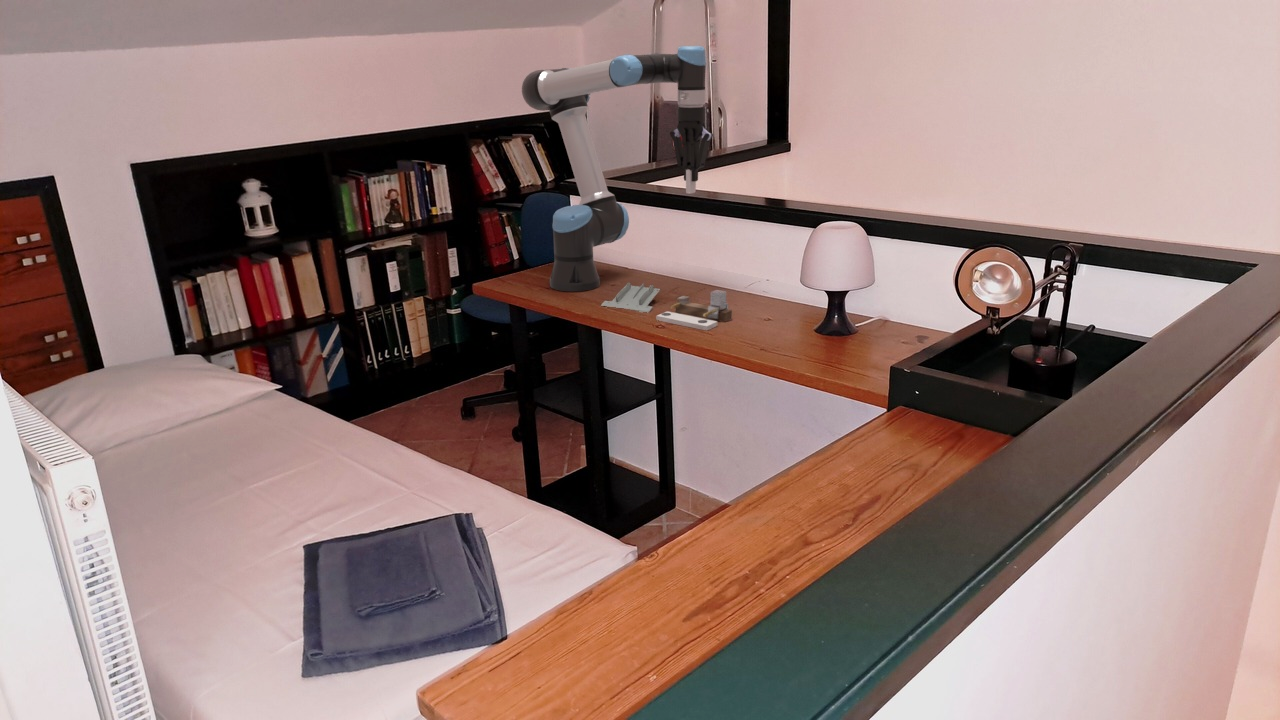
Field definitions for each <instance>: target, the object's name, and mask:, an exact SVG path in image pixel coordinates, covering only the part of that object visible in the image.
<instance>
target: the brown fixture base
mask: <svg viewBox="0 0 1280 720" xmlns="http://www.w3.org/2000/svg"><path fill="white" fill-rule="evenodd" d="M669 306H670V307H669V309H672V310H673V309H674V308H675V313H678V314H683V315H688V316H693V317H698V318H703V319H708V320H713V321H717V322H724V323H726V322H728V321H731V320H732V314H733V309H729V308H728V309H723V310H720V311H719V319H715V318H710V317H708V316H706V317H704V316H703V314H705V313H707V312H708V306H709V305H706V304H700V303H697V302H696V303H695V302H690V296H687V295H682V296H680V297H677V298H676V302H675V303H674V304H672V305H669Z"/></svg>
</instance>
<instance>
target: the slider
mask: <svg viewBox="0 0 1280 720" xmlns="http://www.w3.org/2000/svg"><path fill="white" fill-rule="evenodd" d="M707 306H708V312H707V313H705V314H703V316H704V317H706V316H708V317H710V318H715V319H719V311H720V310H723V309H728V310H729V303H727V291H726V290H721V289H715V290H712V291H710V305H707Z"/></svg>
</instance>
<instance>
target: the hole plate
mask: <svg viewBox="0 0 1280 720" xmlns="http://www.w3.org/2000/svg"><path fill="white" fill-rule="evenodd" d="M655 317H656V318H655V319H656V320H655V321H658V320H659V321H660V322H664V323H668V324H671V325H673V324H674V325H678V326H683V327H687V328H692V329H697V330H703V331H709V330H711V329H714V328H716V327H718V320H713V319H708V318H703V317H698V316H693V315H688V314H683V313H678V312H673V311H665V312H661V313H660V314H657V315H656V316H655Z"/></svg>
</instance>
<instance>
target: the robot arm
mask: <svg viewBox="0 0 1280 720" xmlns="http://www.w3.org/2000/svg"><path fill="white" fill-rule="evenodd" d="M706 61H707V60H706V50H705V48H704V46H700V45H695V46H694V45H692V46H690V45H687V46H686V45H685V46H679V47H678V48H677V52H676V53H672V54H671V53H659V52H657V53H656V52H655V53H647V54H637V55H636V54H634V55H632V54H623V55H619V56H617V57H615V58H611V59H608V60H604V61H600V62H595V63H591V64H590V63H589V64H586V65H581V66H576V67H572V68H569V67H568V68H566V67H562V68H556V69H538V70H534V71H532V72H530V73H529V74H527V75H526V76H525V78H524V79H523V81H522V84H521V95H522V97H523V100H524V102H525V103H526V104H527V105H528V106H529V107H531V108H532V109H534V110H537V111H540V112H541V111H542V112H543V111H549V113H550V117H551V120H552V121H554V122H556V123H557V124H558V127H559V130H560V132H561V133H560V134H561V137H562V139H563V143H564V146H565V149H566V153H567V156H568V159H569V163H570V165H571V170H572V172H573V173H572V174H573V176H574V179H575V183H576V187H577V189H578V193H579V195H580V198H581V199H580V201H579V203H578V204H574V205H567V206H564V207H561V208H559V209H557V210H556V211H555V212H554V213H553V215H552V225H551V227H552V234H553V253H554V256H553V257H554V263H553V266H552V269H551V274H550V276H549V287H550V288H551V289H552V290H556V291H561V292H583V291H584V292H586V291H589V290H591V291H592V290H594V289H596V288H598V287H599V286H600V284H601V282H600V281H601V280H600V279H601V278H600V275H599V274H598V271H597V266H596V264H595V261H594V247H598V246H602V245H606V244H611V243H614V242H616V241H618V240H620V239H622V238H623V237H624V236H625V235H626V233H627V231H628V229H629V225H630V217H629V214H628V213H629V212H628V211H627V208H626V207H625V206H623V204H622V203H619V202H617V199H616V196H615V194H614V193H612V192H610V191H609V190H608V186H607V184H606V179H605V177H604V173H603V171H602V167H601V164H600V163H601V162H600V160H599V157H598V154H597V150H596V147H595V143H594V140H593V136H592V133H591V130H590V127H589V122H588V120H587V116H586V114H587V112H588V110H589V106H588V103H589V101H590V98H591V97H590V95H591V94H593V93H599V92H603V91H604V92H605V91H608V90H609V91H610V90H613V89H618V88H619V89H620V88H625V87H630V86H637V85H646V84H659V83H668V84H669V83H673V84H675V83H676V84H677V105H678V107H677V121H678V123H677V127H676V129H674V130H673V131H670V132H669V134H670V137H671V140H672V141H673V142H672V143H673V148H674V153H675V158H676V164H677V166H678V167H680V168H682V169H683V180H684V181H685V194H689V195H690V194H695V193H696V191H697V189H696V188H697V187H696V186H697V185H696V184H697V182H698V180H699V169H701V168H705V165H706V160H707V155H708V151H709V146H710V142H711V140H712V139H713V136H714V134H713V133H712V132H709V131H708V130H706V128H707V127H706V126H705V120H706V108H705V106H704V105H706V72H707V71H706V69H707V62H706Z"/></svg>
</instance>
